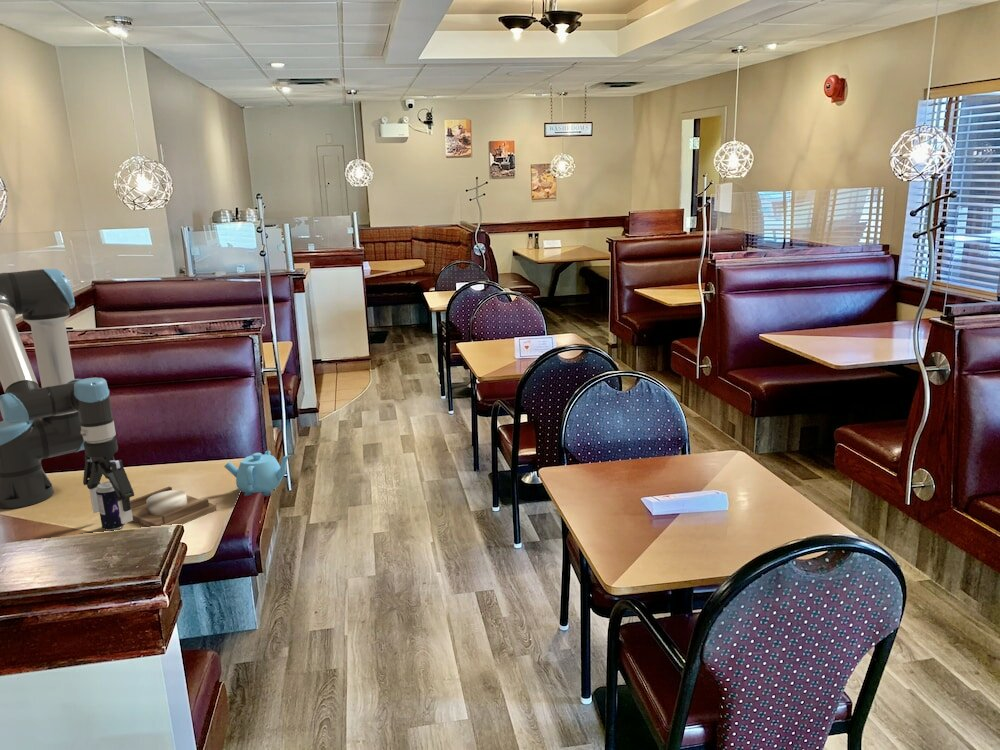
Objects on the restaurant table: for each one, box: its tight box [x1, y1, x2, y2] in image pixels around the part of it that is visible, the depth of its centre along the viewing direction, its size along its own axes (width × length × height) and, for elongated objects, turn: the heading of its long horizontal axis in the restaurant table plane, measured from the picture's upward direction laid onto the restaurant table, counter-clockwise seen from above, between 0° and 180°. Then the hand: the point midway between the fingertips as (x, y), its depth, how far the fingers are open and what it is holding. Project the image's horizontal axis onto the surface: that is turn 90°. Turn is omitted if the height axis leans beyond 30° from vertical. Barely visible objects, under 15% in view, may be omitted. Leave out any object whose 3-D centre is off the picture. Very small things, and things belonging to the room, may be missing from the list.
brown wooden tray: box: [130, 486, 217, 527], centre depth 210 cm, size 20×16×4 cm
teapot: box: [224, 450, 292, 497], centre depth 223 cm, size 15×14×11 cm
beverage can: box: [96, 480, 125, 532], centre depth 201 cm, size 6×6×12 cm
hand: (112, 516), depth 202 cm, fingers open, 13 cm apart
